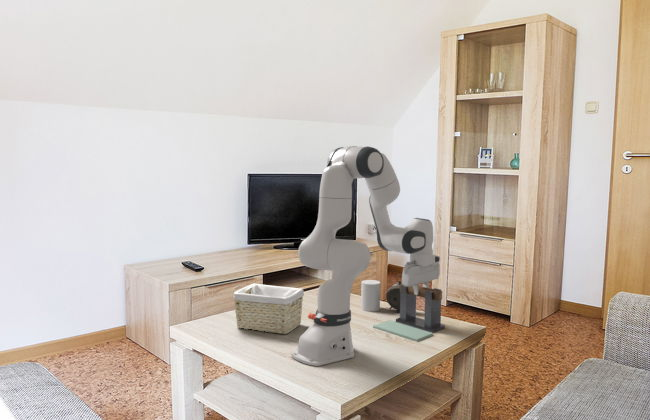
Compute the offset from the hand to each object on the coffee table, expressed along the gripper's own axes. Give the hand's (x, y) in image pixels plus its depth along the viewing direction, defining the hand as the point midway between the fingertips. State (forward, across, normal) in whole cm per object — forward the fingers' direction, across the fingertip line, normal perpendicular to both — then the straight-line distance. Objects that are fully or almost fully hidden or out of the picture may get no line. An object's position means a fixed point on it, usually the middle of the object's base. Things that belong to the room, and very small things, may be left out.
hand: (420, 293), depth 210 cm
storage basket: (+13, -45, +40) cm, 61 cm away
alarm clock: (+13, +8, +17) cm, 23 cm away
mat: (+13, -11, 0) cm, 17 cm away
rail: (+1, 0, 0) cm, 1 cm away
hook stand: (+13, 0, 0) cm, 13 cm away
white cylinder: (+13, +2, +28) cm, 31 cm away
